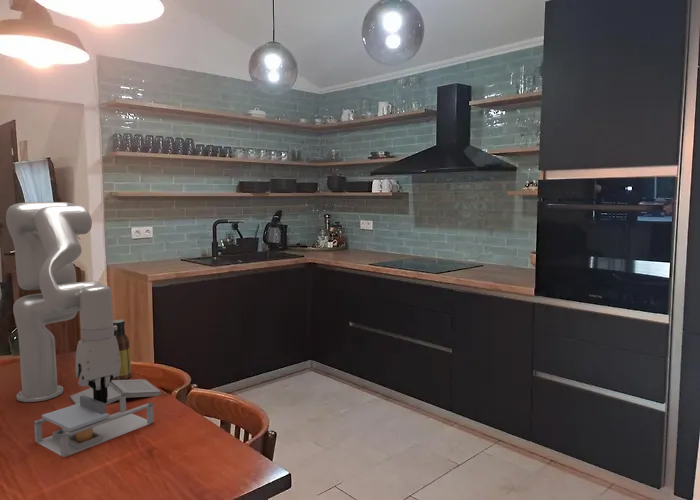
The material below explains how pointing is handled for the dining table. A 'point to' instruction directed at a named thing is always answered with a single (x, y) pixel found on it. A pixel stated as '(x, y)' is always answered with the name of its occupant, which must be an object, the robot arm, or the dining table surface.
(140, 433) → the dining table surface
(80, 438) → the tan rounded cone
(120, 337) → the sauce bottle
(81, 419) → the lid
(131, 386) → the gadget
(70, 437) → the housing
